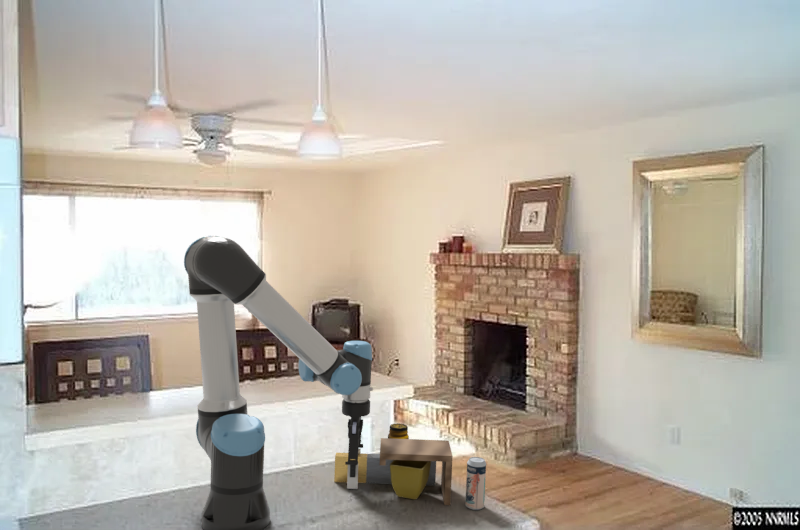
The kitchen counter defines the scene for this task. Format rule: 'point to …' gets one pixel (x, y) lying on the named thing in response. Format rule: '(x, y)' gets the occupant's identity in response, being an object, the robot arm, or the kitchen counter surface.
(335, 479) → the two-tone wooden bar
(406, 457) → the small brown wooden table
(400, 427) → the condiment
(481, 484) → the beer can
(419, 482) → the flower pot
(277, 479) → the kitchen counter surface
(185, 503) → the kitchen counter surface
